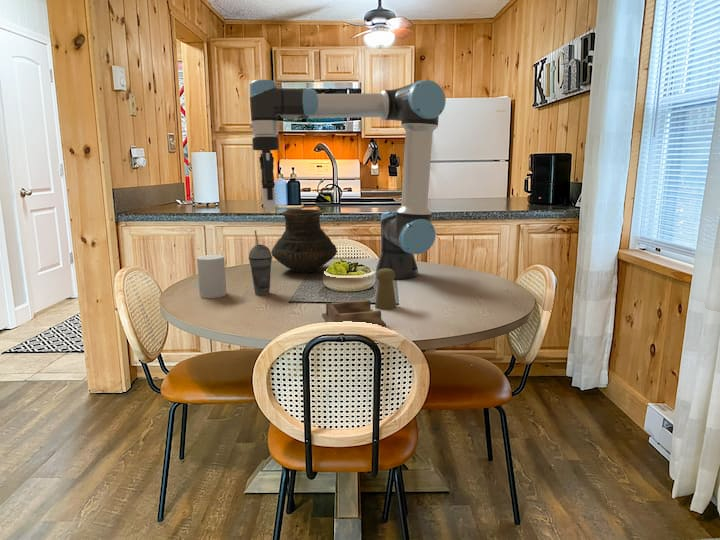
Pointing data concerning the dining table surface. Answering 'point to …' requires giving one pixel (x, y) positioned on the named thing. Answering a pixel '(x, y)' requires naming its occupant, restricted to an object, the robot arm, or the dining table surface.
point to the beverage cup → (260, 268)
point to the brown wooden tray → (352, 312)
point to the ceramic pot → (303, 242)
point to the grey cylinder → (211, 276)
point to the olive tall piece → (385, 289)
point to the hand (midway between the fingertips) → (269, 209)
